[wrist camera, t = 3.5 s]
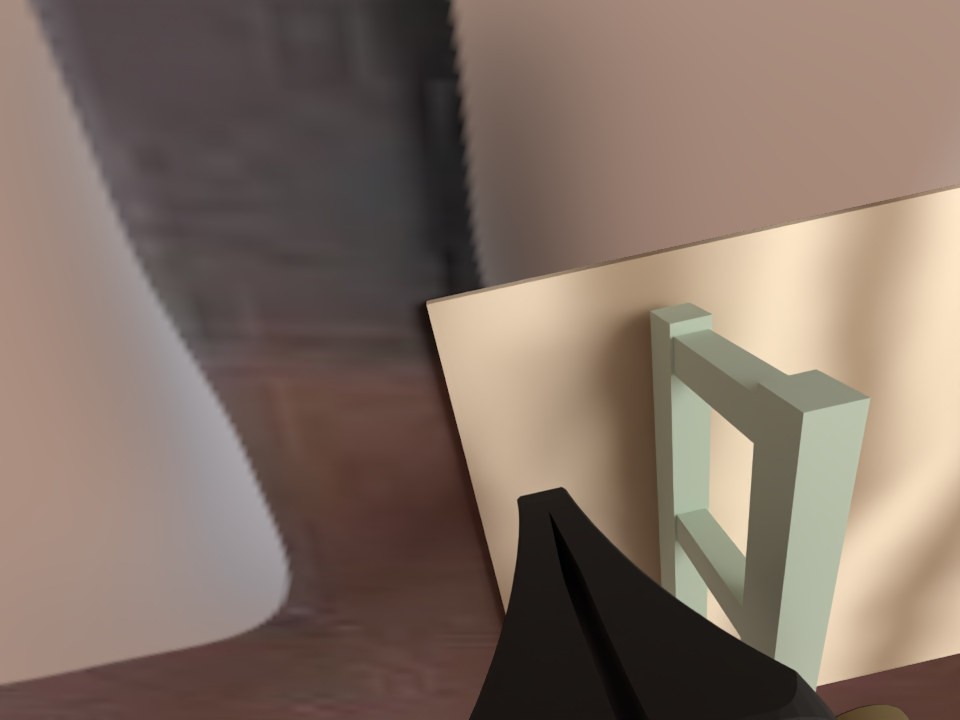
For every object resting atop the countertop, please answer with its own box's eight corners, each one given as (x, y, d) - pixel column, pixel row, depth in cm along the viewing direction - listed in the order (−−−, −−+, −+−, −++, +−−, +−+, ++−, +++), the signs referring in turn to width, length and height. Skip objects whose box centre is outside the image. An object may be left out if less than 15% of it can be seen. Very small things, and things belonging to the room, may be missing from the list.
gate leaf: (690, 630, 19) (792, 813, 14) (663, 636, 19) (754, 822, 14) (689, 302, 13) (871, 397, 8) (650, 310, 13) (804, 413, 8)
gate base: (538, 740, 23) (584, 987, 16) (426, 300, 13) (421, 446, 6) (1023, 628, 23) (1272, 823, 16) (1259, 118, 14) (2111, 68, 7)
